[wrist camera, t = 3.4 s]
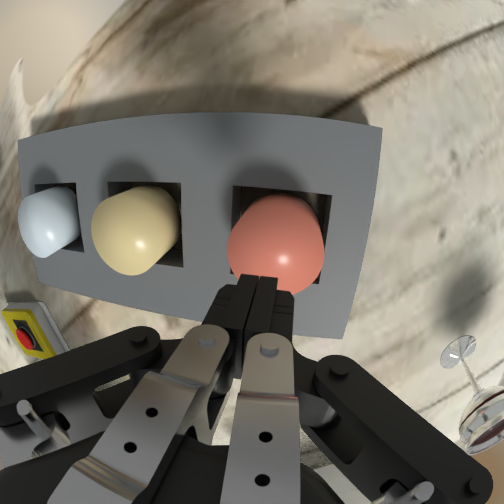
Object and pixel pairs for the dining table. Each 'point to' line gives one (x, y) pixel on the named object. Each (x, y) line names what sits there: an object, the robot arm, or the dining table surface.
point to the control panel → (210, 202)
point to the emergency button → (34, 329)
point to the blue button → (49, 220)
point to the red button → (278, 242)
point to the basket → (341, 485)
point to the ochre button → (136, 228)
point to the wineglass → (476, 402)
